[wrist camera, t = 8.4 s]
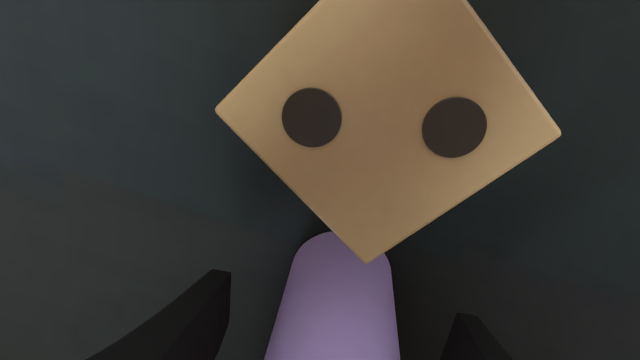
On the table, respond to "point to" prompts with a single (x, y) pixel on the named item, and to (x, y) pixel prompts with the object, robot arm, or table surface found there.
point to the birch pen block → (387, 115)
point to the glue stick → (335, 306)
